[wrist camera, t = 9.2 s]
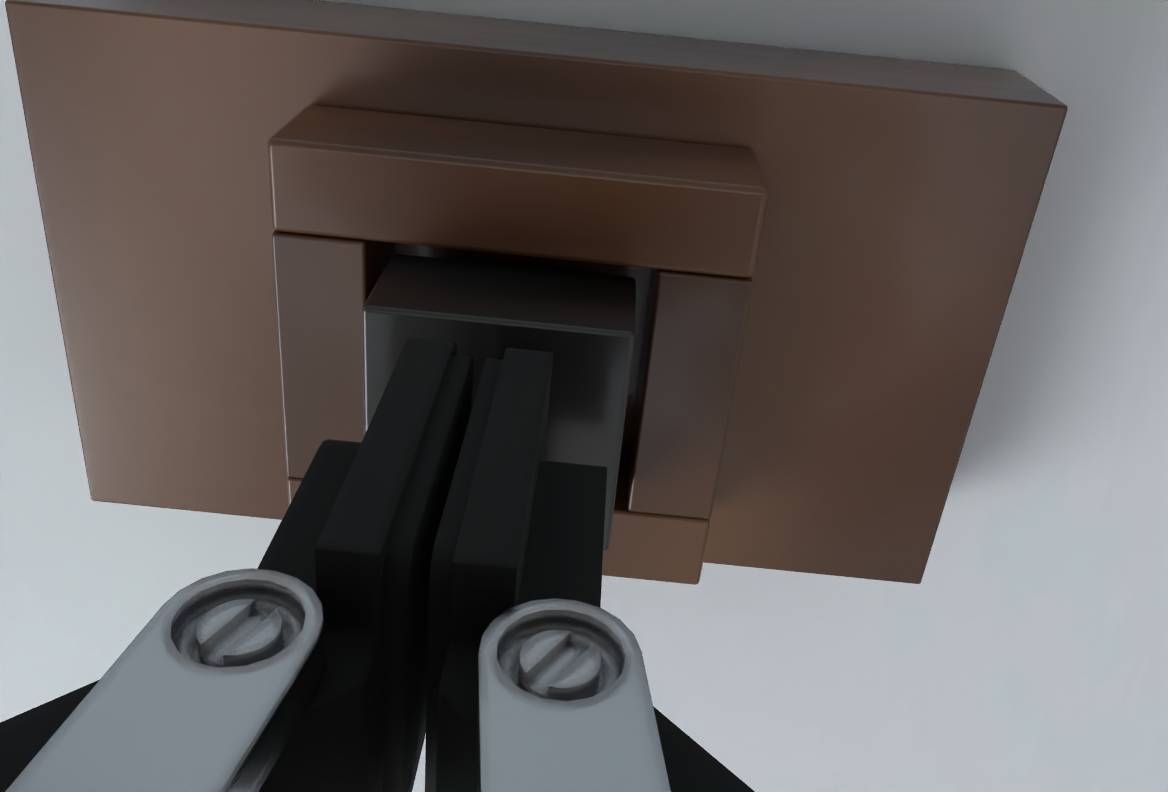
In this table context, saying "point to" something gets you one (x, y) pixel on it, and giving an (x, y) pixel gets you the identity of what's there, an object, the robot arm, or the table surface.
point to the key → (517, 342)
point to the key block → (534, 251)
